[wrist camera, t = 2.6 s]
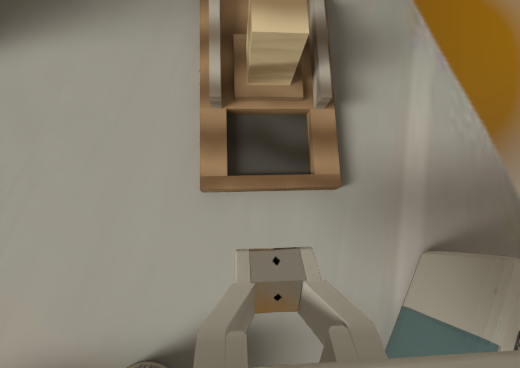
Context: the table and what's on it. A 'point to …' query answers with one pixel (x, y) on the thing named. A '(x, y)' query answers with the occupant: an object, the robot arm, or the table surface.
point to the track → (264, 113)
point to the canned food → (147, 365)
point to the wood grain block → (271, 51)
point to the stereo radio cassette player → (459, 306)
